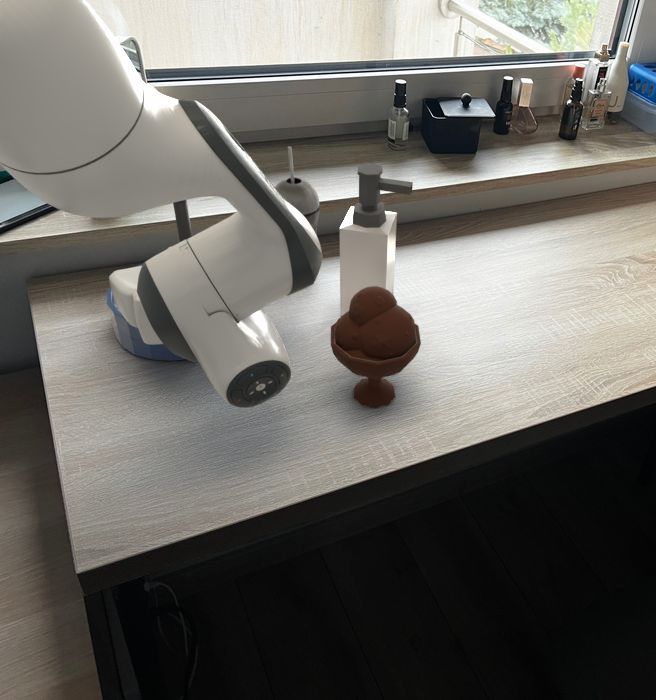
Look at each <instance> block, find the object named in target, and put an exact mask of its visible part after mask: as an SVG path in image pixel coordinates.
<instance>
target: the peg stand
mask: <svg viewBox="0 0 656 700" xmlns="http://www.w3.org/2000/svg"><path fill="white" fill-rule="evenodd" d="M187 200H188V199H187ZM187 200H183V201H178V202H174V203H172V206H173V212H174V217H175V221H176V228H177V234H178V240H179V243H180V242H182V241H184V240H185V239H186V240H187V239H189V238H190V237H192V236H193V231H192V225H191V218H190V212H189V207H188V205H189V204H188V201H187Z"/></svg>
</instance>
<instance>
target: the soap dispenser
mask: <svg viewBox="0 0 656 700" xmlns="http://www.w3.org/2000/svg"><path fill="white" fill-rule="evenodd" d="M382 174H383V165H380V164H377V163H373V162H371V163H370V162H363V163H362V164H360V165H358V166H357V176H358V201H357V202H356V203H354V204H353V206H352V205H351V206H350V208H349V210H348V211H347V213H346V215H345V217H344V220H343V221H342V223H341V225H340V227H339V301H340V302H339V303H340V307H339V309H340V311H339V312H340V317H341V316H343V315H344V314H345V313H346V312H348V311H349V307H350V302H351V299H352V298H353V296H354V295H355V294H356V293H357V292H359V291H360V290H362V289H363V288H366V287H370V286H379V287H382V288H384V289H386V290H389V291H390V292H391V293H392V294H393V295H394V288H395V268H396V267H395V266H396V265H395V264H396V243H397V242H396V241H397V220H398V212H395V211H394V212H393V211H386V208H385V207H386V205H385V202H382V201H381V191H382V192H388V193H395V194H401V195H407V196H408V195H409V196H411V195H412V192H413V186H414V184H413V183H414V182H413V181H408V180H400V179H391V178H384V177H381V176H382Z"/></svg>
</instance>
